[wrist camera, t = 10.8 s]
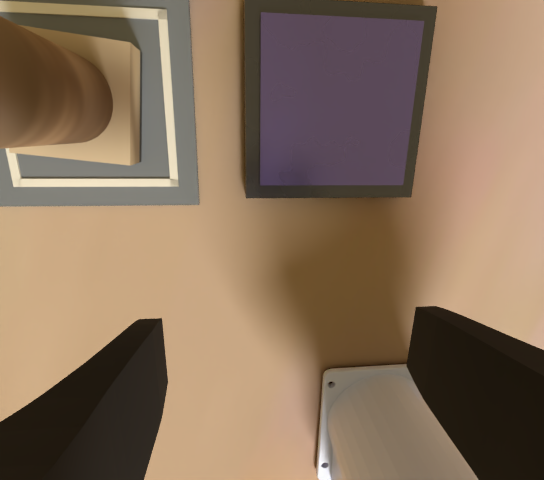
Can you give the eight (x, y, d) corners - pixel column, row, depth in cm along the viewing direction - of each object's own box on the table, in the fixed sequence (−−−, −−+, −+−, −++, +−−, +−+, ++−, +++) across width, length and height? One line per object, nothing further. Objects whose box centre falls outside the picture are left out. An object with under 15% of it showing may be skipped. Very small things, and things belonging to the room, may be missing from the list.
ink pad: (402, 193, 20) (413, 198, 18) (245, 194, 19) (246, 199, 17) (425, 13, 17) (441, 4, 16) (243, 3, 16) (244, -8, 15)
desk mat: (199, 204, 19) (199, 205, 18) (0, 205, 17) (-4, 206, 17) (188, -13, 16) (187, -16, 15) (-53, -28, 14) (-59, -31, 14)
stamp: (141, 161, 17) (70, 184, 10) (34, 150, 17) (-130, 165, 9) (142, 53, 16) (60, -19, 8) (25, 35, 15) (-180, -61, 8)
